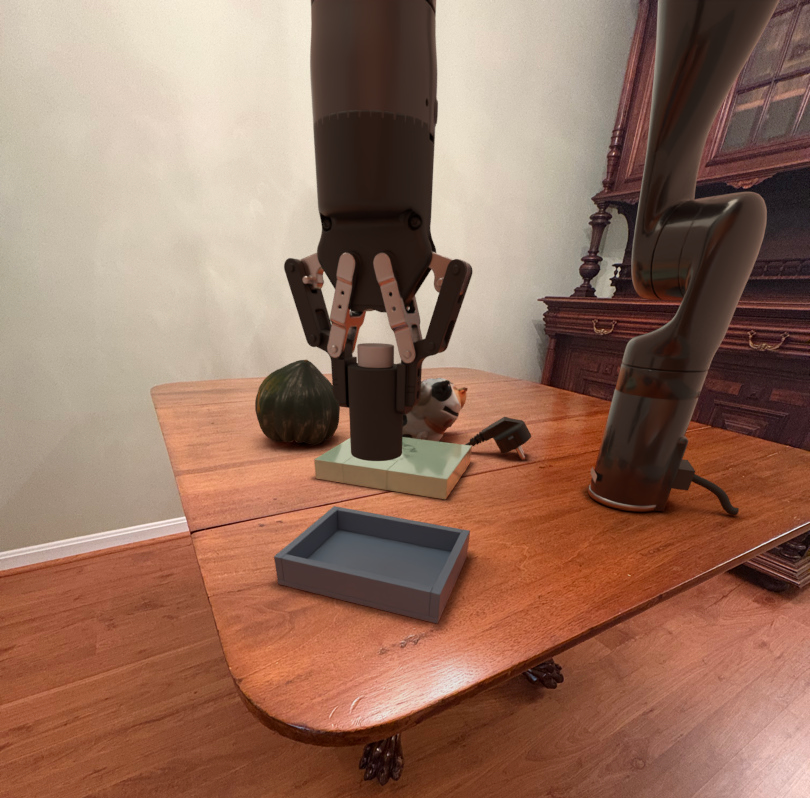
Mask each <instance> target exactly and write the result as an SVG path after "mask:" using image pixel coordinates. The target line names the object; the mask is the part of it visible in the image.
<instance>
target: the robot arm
mask: <svg viewBox="0 0 810 798" xmlns="http://www.w3.org/2000/svg"><path fill="white" fill-rule="evenodd" d="M779 3H780V0H657V15H656V35H655V36H656V38H655V57H654V68H653V69H654V70H653V81H652V91H651V105H650V114H649V123H648V124H649V125H648V126H649V127H648V135H647V144H646V152H645V160H644V167H643V173H642V179H641V187H640V192H639V193H640V194H639V199H638V206H637V213H636V219H635V226H634V234H633V239H632V248H631V260H630V261H631V263H630V264H631V280H632V281H631V282H632V285H633V288H634V291H635V292H636V294H637V295H638V296H639V297H640V298H641V299H644V300H647V301H657V302H658V301H659V302H663V301H664V302H681V303H680V305H679V307H678V309H677V311H676V313H675V315H674V316H673V318H672V319H671V320H669V321H668V322H667V323H666V324H664V325H662V326H661V327H659V328H657V329H655V330H652V331H650V332H647V333H643V334H639V335H636V336H634V337H632V338H631V339H629V341H628V342H627V344H626V346H625V349H624V352H623V356H622V360H621V364H620V368H619V371H618V376H617V379H616V384H615V387H614V392H613V395H612V399H611V403H610V406H609V411H608V415H607V419H606V422H605V426H604V430H603V434H602V437H601V442H600V446H599V450H598V453H597V457H596V461H595V465H594V467H593V466H591V469H590V476H591V479H590V484H589V485H588V489H587V493H588V496H589V497H590V498H591V499H592V500H594V501H596V502H597V503H600V504H601V505H604V506H606V507H610V508H613V509H617V510H621V511H627V512H638V513H639V512H640V513H642V512H643V513H645V512H646V513H647V512H652V511H653V512H655V511H656V512H664V511H665V508H666V505H667V503H668V500H669V498H670V494H671V493H672V489H673V490H674V489H675V490H681V491H687V492H688V491H689V490H690V486H691V485H692V483H693V484H696V485H698V486H700V487H702V488H704V489H705V490H708V491H709V492H710V493H712V494H713V495H714V496H715V497H716V498H717V499H718V501H719V503H720V506H721V507H722V509H723V510H724V512H726V513H727V514H728V515H731V516H737V515H738V514H739V511H740V509H739V507H734V506H733V505H732V502H731V500H730V498H729V496H728V494H727V493H726V492H725V490H724V489H722V488H721V487H720V486H718V485H717V484H715V483H714V482H712V481H710V480H709V479H706V478H704V477H703V476H700V475H699V474H696V469H695V468H694V467H693V466H692V464H691V463H690V461H689V460H688V459H684V456H685V453H686V450H687V448H688V445H689V438H688V437H687V436H686V434H687V431H688V429H689V426H690V423H691V420H692V417H693V415H694V411H695V409H696V406H697V403H698V401H699V397H700V394H701V392H702V389H703V387H704V383H705V381H706V377H707V375H708V373H709V369H710V367H711V365H712V361H713V358H714V357H715V355H716V353H717V351H718V349H719V348H720V347H721V344H722V342H723V340H724V339H725V337H726V334H727V332H728V329H729V327H730V324H731V321H732V319H733V317H734V314H735V312H736V309H737V307H738V305H739V301H740V299H741V297H742V294H743V292H744V290H745V288H746V286H747V282H748V281H749V279H750V276H751V274H752V272H753V269H754V266H755V263H756V261H757V259H758V256H759V253H760V251H761V248H762V244H763V241H764V237H765V232H766V228H767V221H768V220H767V219H768V216H767V214H768V211H767V209H768V208H767V205H766V201H765V199H764V198H763V197H762V196H761V194H759V193H757V192H754V191H740V192H732V193H724V194H718V195H713V196H705V197H700V198H695V196H696V189H697V188H696V187H697V182H698V181H697V180H698V176H699V170H700V166H701V163H702V162H701V161H702V158H703V153H704V149H705V146H706V142H707V139H708V137H709V134H710V132H711V129H712V127H713V124H714V122H715V120H716V118H717V116H718V114H719V111H720V109H721V107H722V106H723V104H724V102H725V100H726V98H727V97H728V95H729V92H730V91H731V89H732V87H733V86H734V84H735V83H736V80H737V79H738V77H739V75H740V73H742V70H743V68H744V67H745V65H746V63H747V61H748V60H749V58H750V57H751V55H752V53H753V51H754V49H755V48H756V45H757V44H758V42H759V41H760V39H761V37H762V35H763V33H764V32H765V30H766V28H767V26H768V24H769V22H770V20H771V18H772V16H773V15H774V12H775V10H776V8H777V6H778V4H779ZM436 17H437V0H310V22H311V23H310V24H311V25H310V48H309V49H310V53H309V74H310V76H309V77H310V92H311V93H310V94H311V110H312V112H311V113H312V128H313V131H312V132H313V144H314V146H313V147H314V162H315V163H314V164H315V179H316V194H317V195H316V197H317V210H318V215H319V219H320V224H321V234H320V238H319V241H318V244H317V248H316V252H315V253H312V254H310V255H307V256H304V257H303V258H300V259H298V258H294V257H288V258H287V259H286V260H284V264H283V270H284V272H285V276H286V279H287V282H288V287H289V289H290V293H291V295H292V299H293V302H294V305H295V308H296V312H297V314H298V315H297V316H298V318H299V321H300V324H301V327H302V332H303V333H304V337H305V340H306V343H307V344H308V346H310V347H311V348H312V347H313V348H318V349H320V350H322V351H324V352H325V353H326V354H328V356H329V358H330V369H331V384H332V385H333V386H332V387H333V394H334V397H335V399H339V406H340V408H347V409H349V391H348V365H350V364H354V363H358V356H354V355H353V354H354V352H355V350H356V347H357V346H356V345H357V341H358V338H359V333H360V329H361V327H362V326H363V324H364V322H365V320H366V319H365V318H366V315H367V312H373V311H376V312H378V313H384V314H385V313H386V316H387V320H388V325H389V327H390V329H391V331H392V332H393V334H394V338H395V342H396V347H397V349H398V355H399V359H400V362H398V363H396V364H397V387H396V412H397V413H398V414H407V413H409V412H411V411H412V409H413V407H414V406H415V405H417V404H418V402H419V400H420V397H421V381H422V373H423V372H422V371H423V370H422V369H423V363H424V361H425V359H427V358H429V357H432V356H435V355H436V356H437V354H441V353H443V352H445V351H446V350H448V348H449V344H450V341H451V338H452V335H453V332H454V330H455V327H456V323H457V322H458V321H457V320H458V318H459V316H460V315H459V314H460V312H461V309H462V306H463V303H464V300H465V297H466V294H467V291H468V288H469V285H470V282H471V279H472V276H473V268H472V267H473V266H472V265H471V264H470V263H469V262H467V261H466V260H464V259H459V258H454V259H453V258H450V257H449V256H445V255H442V254H440V253H438V252H437V247H436V245H435V242H434V240H433V237H432V231H431V225H432V224H431V223H432V211H433V210H432V207H433V186H434V185H433V184H434V163H435V161H434V160H435V145H436V144H435V143H436V142H435V141H436V126H437V124H438V116H439V115H438V114H439V101H438V98H437V97H438V55H437V53H438V52H437V36H436V33H437V30H436V28H437V19H436ZM431 271H432V273H433V276H434V277H433V288H434V290H435V291H436V292H437V293H438V296H437V298H436V302H435V305H434V307H433V308H434V309H433V310H432V311H433V312H432V316H431V318H430V322H429V325H428V328H427V330H426V331H427V332H426V334H425V338H423V335H422V330H421V316H420V312H419V306H418V302H417V298H416V295H417V294H418V292H419V290H420V289H421V287H422V286H423V284H424V282H425V281H426V279H427V277H429V275H430V272H431ZM324 274H325V275H326V277H327V279H328V280H329V282H330V285H332V287H333V289H334V293H333V300H332V304H331V310H330V315H329V311H328V308H327V304H326V301H325V297H324V294H323V291H322V288H323V287H324V284H325V280H324Z"/></svg>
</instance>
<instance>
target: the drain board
mask: <svg viewBox="0 0 810 798" xmlns="http://www.w3.org/2000/svg"><path fill="white" fill-rule="evenodd" d="M472 449H473V446H472V445H471V446H470V445H465V444H463V443H462V444H461V443H454V442H444V441H439V442H438V441H430V440H421V439H414V438H406V437H402V455H401V456H400V457H398V458H396V459H392V460H387V461H367V460H361V459H358V458H355V457H354V456H352V454H351V442H350V437H349V438H347V439H346V440H344V441H342V442H341V443H339V444H337V445H336V446H334V447H332V448H331V449H328V450H327V451H326V452H324V453H321V455H319V456H317V457H316V458H314V460H313V463H314V474H315V475H314V476H315V479H318V480H323V481H328V482H336V483H340V484H341V483H342V484H347V485H353V486H359V487H366V488H372V489H376V490H377V489H378V490H383V491H391V492H395V493H396V492H397V493H402V494H403V493H404V494H409V495H416V496H421V497H428V498H432V499H440V500H447V499H448V497H449V495H450V494H451V493H452V491H453V490H454V488H455V486H456V485H457V483H458V482H459V480H460V479H461V477H462V476H463V474H464V473H465V471H466V470H467V469H468V467H469V465H470V464H471V457H472Z"/></svg>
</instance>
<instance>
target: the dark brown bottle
mask: <svg viewBox="0 0 810 798" xmlns="http://www.w3.org/2000/svg"><path fill="white" fill-rule="evenodd" d="M356 345H357V346H356V347H357V351H356V352H357V363H354V364H350V365H348V391H349V408H348V414H349V438H350V442H351V454H352V456H354V457H355V458H358V459H361V460H367V461H387V460H392V459H396V458H398V457H400V456H401V455H402V435H403V414H398V413H397V412H396V387H397V364H398V363H395V345H394V344H391V343H381V342H380V343H379V342H376V343H375V342H365V343H358V344H356Z"/></svg>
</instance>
